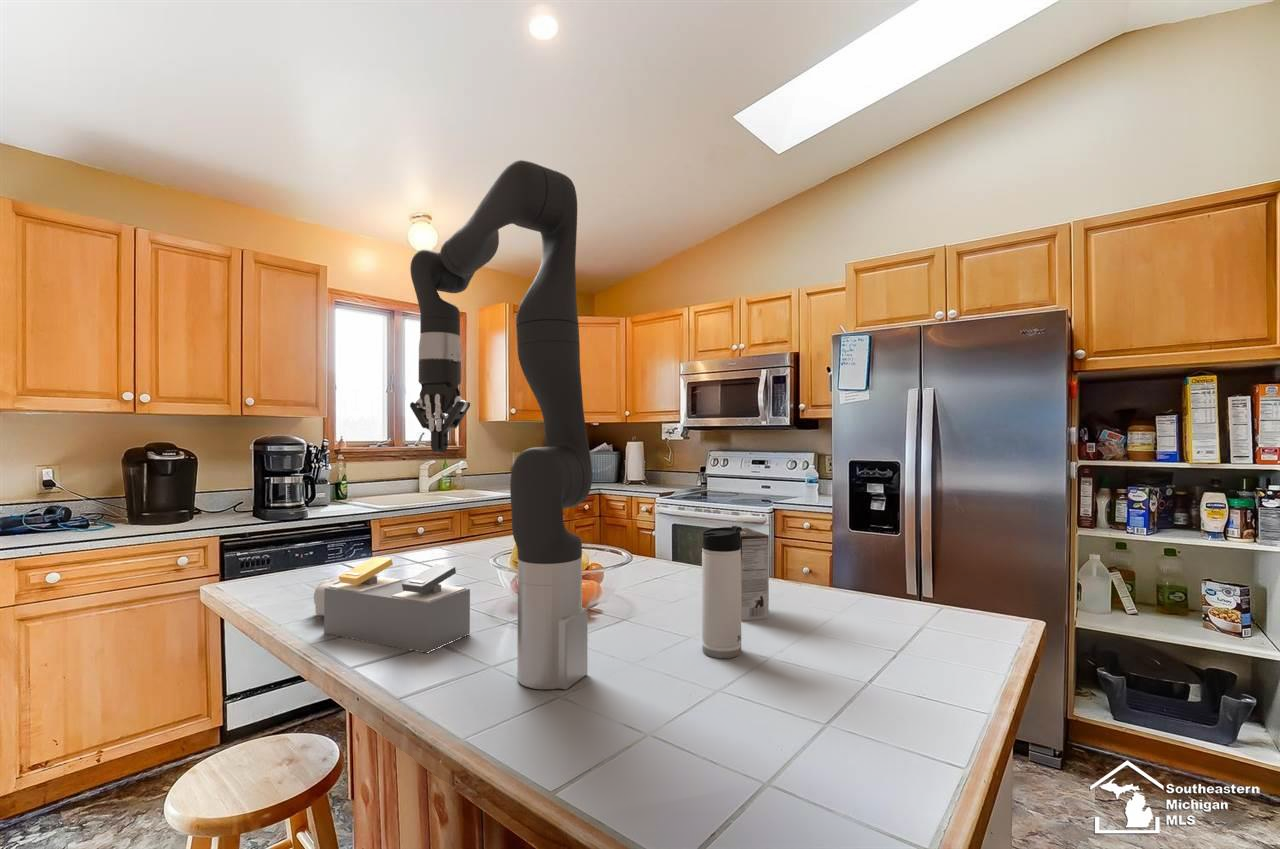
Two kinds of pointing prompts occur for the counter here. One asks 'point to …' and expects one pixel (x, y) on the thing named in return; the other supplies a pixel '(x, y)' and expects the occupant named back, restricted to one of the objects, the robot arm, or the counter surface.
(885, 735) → the counter surface
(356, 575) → the amber rocker
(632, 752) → the counter surface
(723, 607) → the travel mug
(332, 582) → the cable organizer
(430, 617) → the grey switch box
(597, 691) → the counter surface
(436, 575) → the black rocker
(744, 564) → the coffee box
